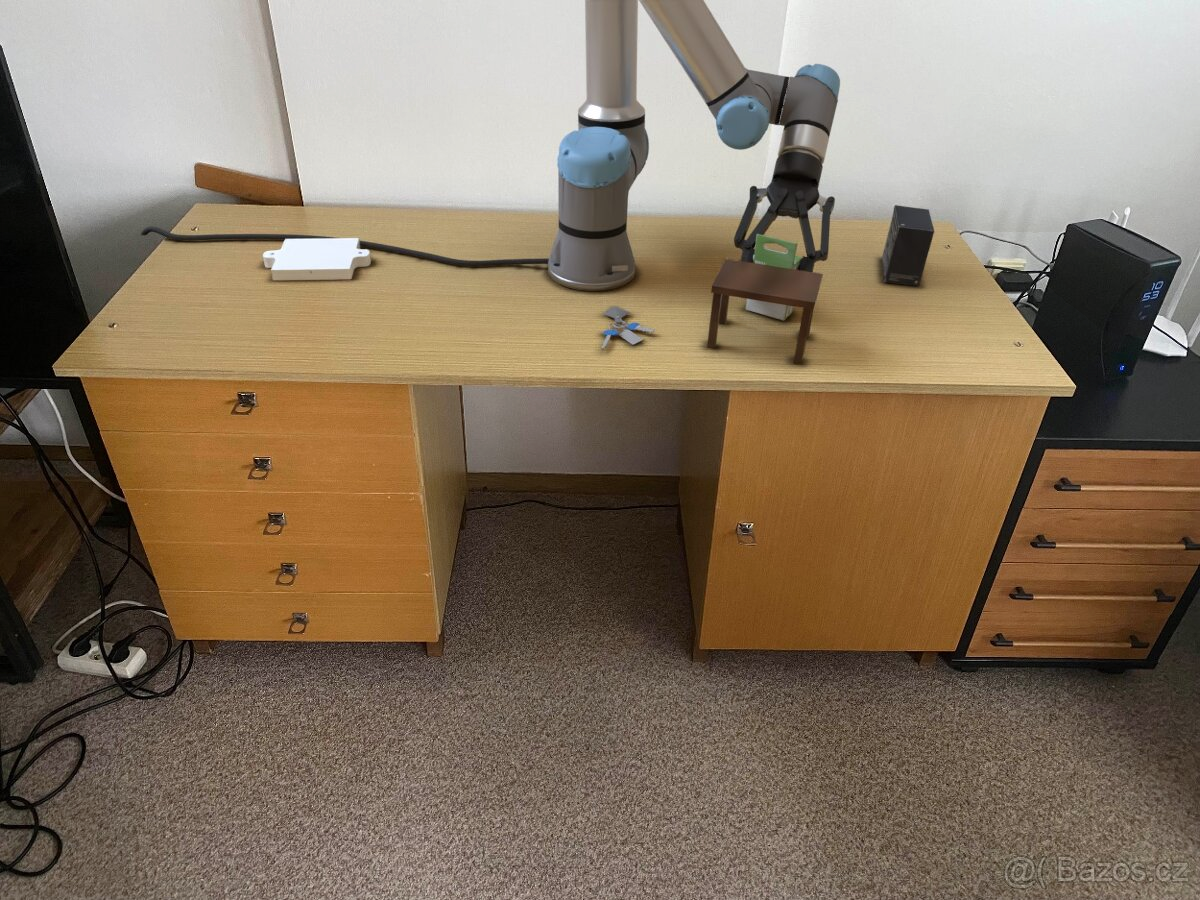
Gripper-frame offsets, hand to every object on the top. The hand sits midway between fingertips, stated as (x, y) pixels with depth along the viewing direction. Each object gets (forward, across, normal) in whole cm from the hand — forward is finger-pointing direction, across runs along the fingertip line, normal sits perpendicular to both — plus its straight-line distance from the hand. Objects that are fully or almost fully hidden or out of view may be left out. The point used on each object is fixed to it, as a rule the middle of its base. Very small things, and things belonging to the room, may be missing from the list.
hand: (770, 294), depth 139 cm
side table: (+8, 0, +2) cm, 9 cm away
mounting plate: (+9, +78, +2) cm, 78 cm away
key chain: (+11, +20, +4) cm, 23 cm away
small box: (-16, -20, -23) cm, 34 cm away
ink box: (+1, 0, -6) cm, 6 cm away
